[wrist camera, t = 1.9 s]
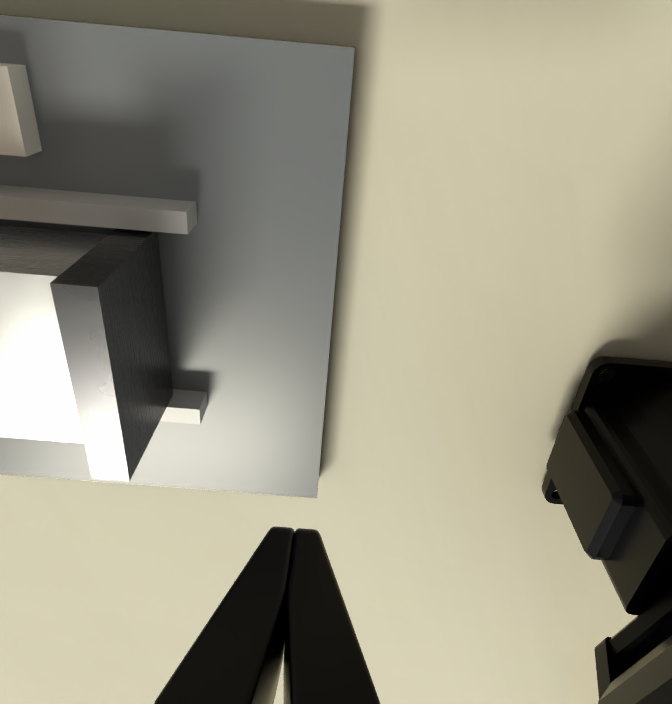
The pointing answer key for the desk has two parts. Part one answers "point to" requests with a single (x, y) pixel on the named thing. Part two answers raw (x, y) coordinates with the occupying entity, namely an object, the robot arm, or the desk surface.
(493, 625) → the desk surface
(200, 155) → the board
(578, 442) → the robot arm
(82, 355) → the grey block
